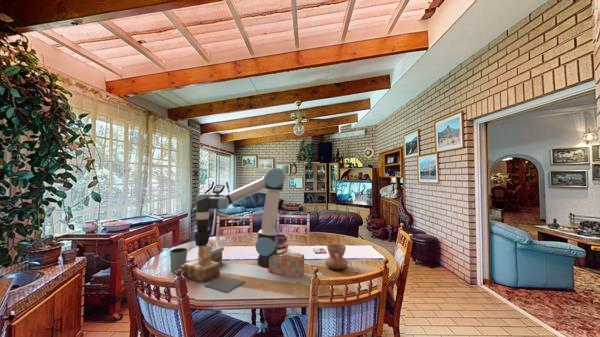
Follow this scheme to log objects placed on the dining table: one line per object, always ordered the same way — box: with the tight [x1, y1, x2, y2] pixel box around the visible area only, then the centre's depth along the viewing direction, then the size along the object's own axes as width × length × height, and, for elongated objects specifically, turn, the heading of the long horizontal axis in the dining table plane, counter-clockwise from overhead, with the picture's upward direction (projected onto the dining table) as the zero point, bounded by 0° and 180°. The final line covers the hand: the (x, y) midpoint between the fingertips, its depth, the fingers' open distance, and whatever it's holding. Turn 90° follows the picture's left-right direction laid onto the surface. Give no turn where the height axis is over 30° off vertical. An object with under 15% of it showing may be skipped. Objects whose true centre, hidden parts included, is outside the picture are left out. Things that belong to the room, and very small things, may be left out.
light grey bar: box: [211, 246, 225, 255], centre depth 161 cm, size 3×17×2 cm, turn 154°
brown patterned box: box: [268, 251, 305, 279], centre depth 149 cm, size 21×6×12 cm, turn 67°
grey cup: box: [169, 247, 188, 272], centre depth 155 cm, size 10×10×12 cm
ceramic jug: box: [324, 242, 349, 271], centre depth 159 cm, size 18×14×14 cm
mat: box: [204, 275, 246, 294], centre depth 133 cm, size 16×14×1 cm
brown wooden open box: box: [179, 251, 223, 283], centre depth 150 cm, size 18×31×8 cm, turn 154°
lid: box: [183, 245, 220, 271], centre depth 145 cm, size 17×11×12 cm, turn 64°
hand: (201, 256), depth 153 cm, fingers closed
